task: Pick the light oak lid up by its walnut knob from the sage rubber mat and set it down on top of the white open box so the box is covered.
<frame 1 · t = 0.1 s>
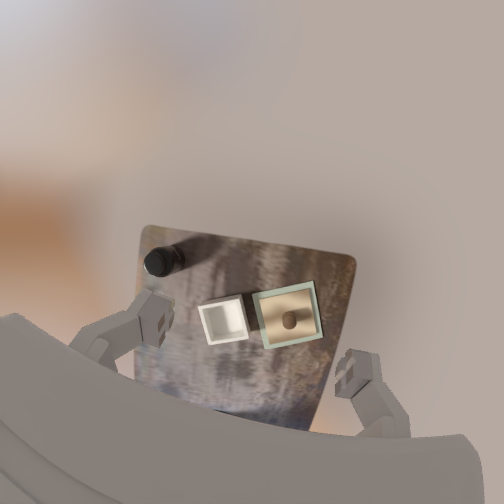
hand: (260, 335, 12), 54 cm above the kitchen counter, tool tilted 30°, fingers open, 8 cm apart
supplement bottle: (172, 258, 68), on the kitchen counter
white open box: (226, 316, 68), on the kitchen counter
sage mat: (288, 316, 67), on the kitchen counter
oak lid: (288, 316, 66), resting on sage mat
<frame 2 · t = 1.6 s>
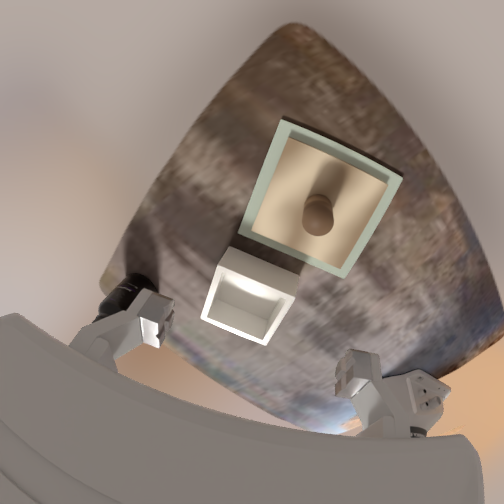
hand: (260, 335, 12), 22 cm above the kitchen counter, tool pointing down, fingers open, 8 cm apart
supplement bottle: (142, 287, 45), on the kitchen counter
white open box: (252, 286, 39), on the kitchen counter
sage mat: (318, 204, 31), on the kitchen counter
oak lid: (318, 205, 31), resting on sage mat
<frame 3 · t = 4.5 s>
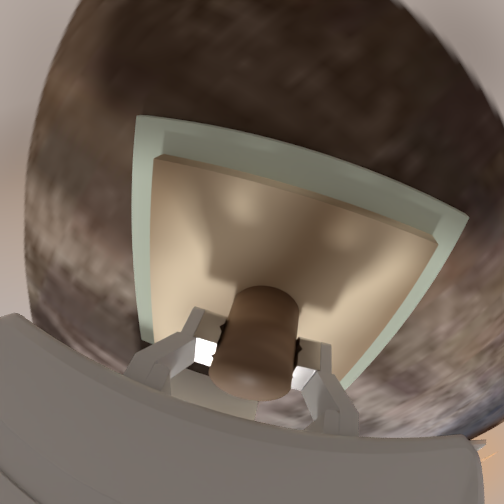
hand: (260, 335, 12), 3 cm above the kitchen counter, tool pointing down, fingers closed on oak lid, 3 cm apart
white open box: (196, 395, 23), on the kitchen counter
sage mat: (268, 295, 14), on the kitchen counter
oak lid: (268, 300, 14), resting on sage mat, touching gripper
when the fingers open (8 cm above the kitchen counter, at t = 10.2 s): oak lid drops 2 cm, resting on white open box.
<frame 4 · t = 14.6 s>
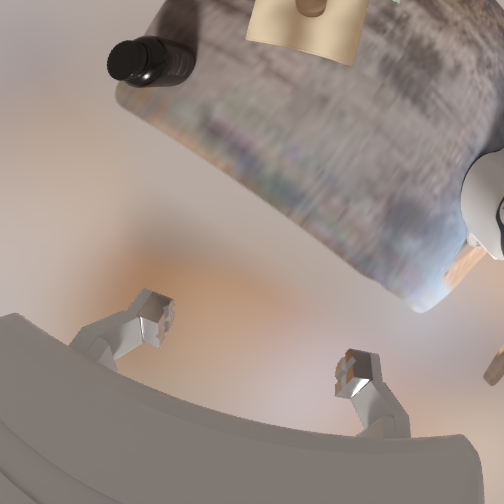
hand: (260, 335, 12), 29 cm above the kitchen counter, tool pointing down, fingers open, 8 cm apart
supplement bottle: (174, 64, 31), on the kitchen counter
oak lid: (310, 8, 21), point 5 cm above the kitchen counter, touching white open box
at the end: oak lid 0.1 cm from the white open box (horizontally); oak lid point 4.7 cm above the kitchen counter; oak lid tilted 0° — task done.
